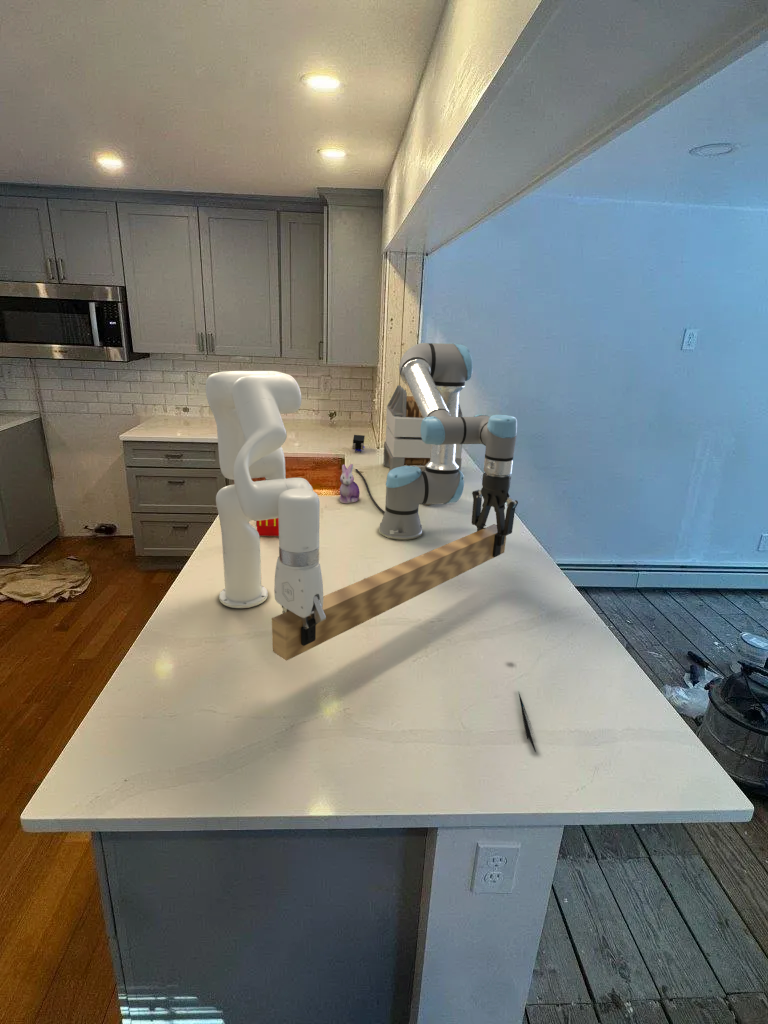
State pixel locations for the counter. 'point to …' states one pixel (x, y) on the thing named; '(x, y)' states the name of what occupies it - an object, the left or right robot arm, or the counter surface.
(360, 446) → the figurine character
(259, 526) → the toy
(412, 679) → the counter surface
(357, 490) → the figurine
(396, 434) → the white storage crate
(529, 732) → the feather
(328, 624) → the post
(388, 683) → the counter surface
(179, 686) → the counter surface
